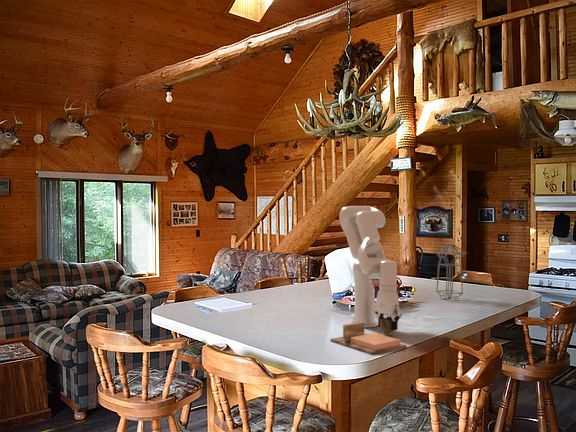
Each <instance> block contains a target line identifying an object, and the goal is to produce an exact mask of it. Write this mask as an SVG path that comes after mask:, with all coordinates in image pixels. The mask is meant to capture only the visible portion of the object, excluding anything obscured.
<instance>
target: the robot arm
mask: <svg viewBox="0 0 576 432" xmlns="http://www.w3.org/2000/svg"><path fill="white" fill-rule="evenodd" d="M338 217H339V224H340V226H341V228H342V231H343V233H344V234H345V237H346V240H347V243H348V247H349V251H350V254H351V255H352V258H353V259H355V260H357V261H355V262H354V263H353V265H352V274H353V279H354V313H352V314H351V315H350V319H352V321H351V323H357V322H363V323H364V329H365V328H369V329H370V328H375V327H379V328H380V320H379V318H381V316H382V317H383V316H384V315H385V316H391V317H392V320H393V321H392V322H391V330H394V331H397V330H398V327H399V326H398V321H399V320H401V317H402V315H403V314H404V312H402V311H401V309H400V301H399V293H398V290H397V286H398V284H397V283H398V282H397V281H398V279H397V277H398V264H397V261H395V260H390V259H389V258H386V253H385V251H384V248H383V245H382V243H381V242H380V239H381V237H380V234H379V231H378V229H381V228H383V227H384V226H385V225H386V216H385V214H384V213H383V211H381V210H380V209H378V208H376V207H373V206H372V205H371V206H370V205H348V206H344V207H341V209H340V211H339V215H338ZM371 280H379V284H378V288H379V290H378V291H377V293H376V292H375V291H376V290H375V286H374V284H373V282H372V281H371ZM375 293H376V295H375ZM375 296H376V297H375ZM375 298H376V300H375ZM375 314H376V318H377V321H378V322H377V321H376V320H375ZM385 316H384V317H385ZM351 323H350V324H351Z"/></svg>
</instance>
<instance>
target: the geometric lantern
mask: <svg viewBox="0 0 576 432" xmlns="http://www.w3.org/2000/svg"><path fill="white" fill-rule="evenodd" d="M440 250H441V251H440ZM433 253H435V254H436V256H437V257H439V258H438V263H437V274H436V275H437V279H436V288H435V289H436V291H435V292H436V293H437V294H438V295H439V296H440V297H443V298H447V299H449V300H450V299H451V298H452V297H454V295H455V298H459V297H461V296H462V295H463V294H464V290H463V289H464V288H463V264H462V261H461V259H462V258H463V257H464V256H465V255H467V254H468V252H467V251H465V250H463V249H461V248H460V247H458V246H457V245H455V244H453V243H448V244H446V245H444V246H442V247H441V248H438V249H436V250H435V251H433ZM449 254H451V255H452V257H453V259H454V260H451V262H449V260H448V259H447V258H446V257H447V256H448V255H449ZM442 259H443V260H444V262H445V264H444V267H445V266H446V280H445V281H446V283H445V289H444V290H441V291H440V290H438V288H439V277H440V268H441V266H443V263H441V261H442ZM458 259H459V263H460V264H455V262H456V261H457V260H458ZM456 266H457V267H459V268H460V269H459V270H460V281H461V285H460V286H461V291H456V290H454V267H456ZM449 289H450V290H449ZM441 294H443V295H441ZM451 300H452V299H451Z"/></svg>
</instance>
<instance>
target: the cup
mask: <svg viewBox="0 0 576 432" xmlns="http://www.w3.org/2000/svg"><path fill="white" fill-rule="evenodd" d="M379 320H380V327H379V329H380V330H381V331H382V332H383V334H382V335H384V336H388V337H391V336H392V335H393V334H392V333H394V331H395V330H391V322H392V321H393V320H392V317H391V315H386V317H385V316H383V317H382V316H381V318H379Z"/></svg>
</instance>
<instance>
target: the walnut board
mask: <svg viewBox="0 0 576 432" xmlns="http://www.w3.org/2000/svg"><path fill="white" fill-rule="evenodd" d="M342 325H343V326H342V336H338V337H333V338H330V339H329V340H330V342H332V343H334V344H338V345H341V346H344V347H347V348H350V349H353V350H356V351H360V352H362V353H365V354H369V355H371V356H374V355H378V354H384V353H388V352H392V350H393V351H397V350H396V349H398V350H401V349H400V348H402V349H405V348H407V344H404V343H401V342H400V345H399V346H394V347H389V348H385V349H380V350H372V349H368V348H365V347H362V346H359V345H356V344H352V343H351V337H356V336H362V335H367V334H368V333H365V328H364V323H363V322H357V323H346V324H342ZM376 333H377V332H376ZM377 334H380V333H377Z"/></svg>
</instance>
